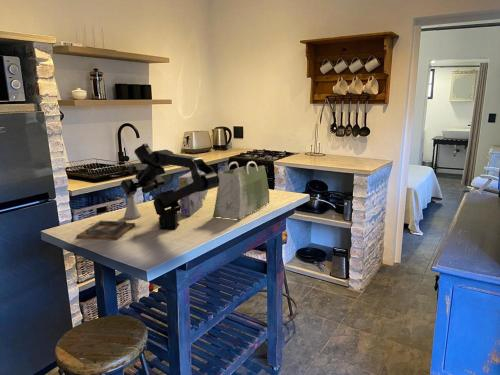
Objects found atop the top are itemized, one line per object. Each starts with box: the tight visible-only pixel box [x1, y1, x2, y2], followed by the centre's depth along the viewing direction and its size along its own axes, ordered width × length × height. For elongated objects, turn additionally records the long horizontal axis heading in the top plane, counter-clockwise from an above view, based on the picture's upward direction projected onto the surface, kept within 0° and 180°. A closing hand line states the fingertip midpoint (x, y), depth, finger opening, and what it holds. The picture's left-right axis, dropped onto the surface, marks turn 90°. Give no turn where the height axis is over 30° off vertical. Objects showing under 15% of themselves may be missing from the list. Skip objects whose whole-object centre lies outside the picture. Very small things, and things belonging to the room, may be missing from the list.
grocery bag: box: [212, 160, 270, 221], centre depth 171 cm, size 32×14×23 cm, turn 153°
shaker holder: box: [76, 220, 136, 240], centre depth 146 cm, size 16×16×2 cm
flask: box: [123, 194, 142, 220], centre depth 163 cm, size 7×7×10 cm
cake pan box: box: [177, 170, 204, 217], centre depth 171 cm, size 19×5×18 cm, turn 168°
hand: (135, 195), depth 160 cm, fingers open, 9 cm apart
